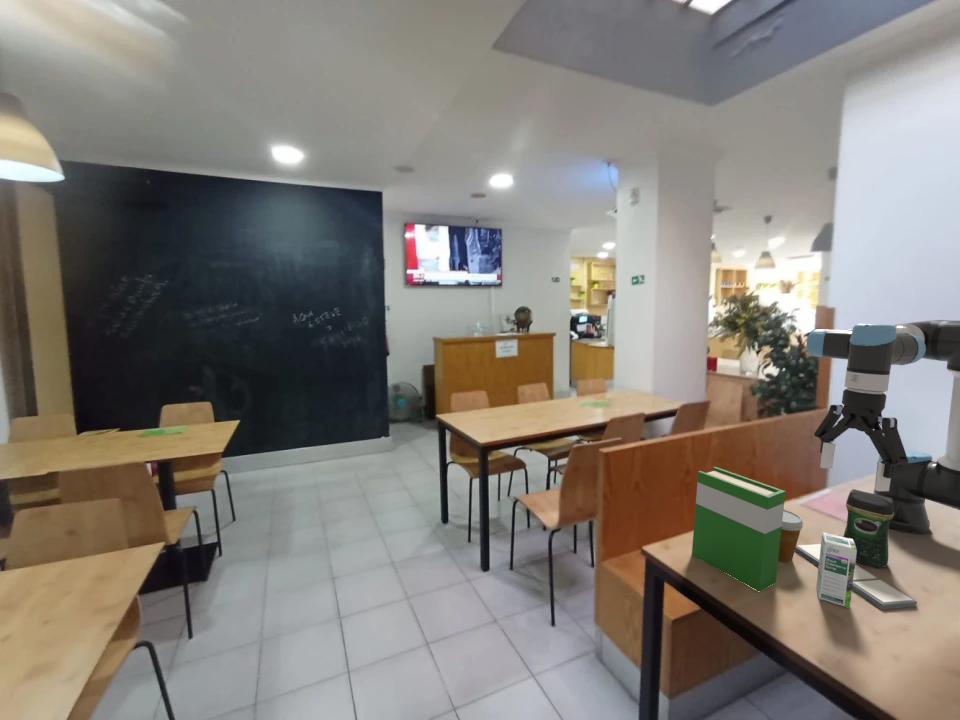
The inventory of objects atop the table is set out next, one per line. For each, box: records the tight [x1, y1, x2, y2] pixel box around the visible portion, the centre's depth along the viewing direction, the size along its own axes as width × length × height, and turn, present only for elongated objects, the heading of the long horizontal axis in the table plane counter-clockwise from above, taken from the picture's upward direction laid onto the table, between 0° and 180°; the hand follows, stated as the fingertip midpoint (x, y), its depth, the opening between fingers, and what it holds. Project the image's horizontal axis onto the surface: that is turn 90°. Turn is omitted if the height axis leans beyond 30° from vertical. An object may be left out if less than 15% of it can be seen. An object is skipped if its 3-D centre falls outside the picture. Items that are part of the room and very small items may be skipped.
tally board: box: [794, 543, 918, 610], centre depth 110 cm, size 9×24×1 cm, turn 7°
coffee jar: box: [842, 488, 894, 569], centre depth 116 cm, size 10×8×19 cm
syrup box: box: [816, 531, 857, 609], centre depth 101 cm, size 6×6×14 cm
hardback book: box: [691, 466, 786, 592], centre depth 111 cm, size 18×7×24 cm, turn 29°
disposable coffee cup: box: [778, 508, 805, 563], centre depth 117 cm, size 10×10×12 cm
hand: (852, 478), depth 102 cm, fingers open, 13 cm apart
